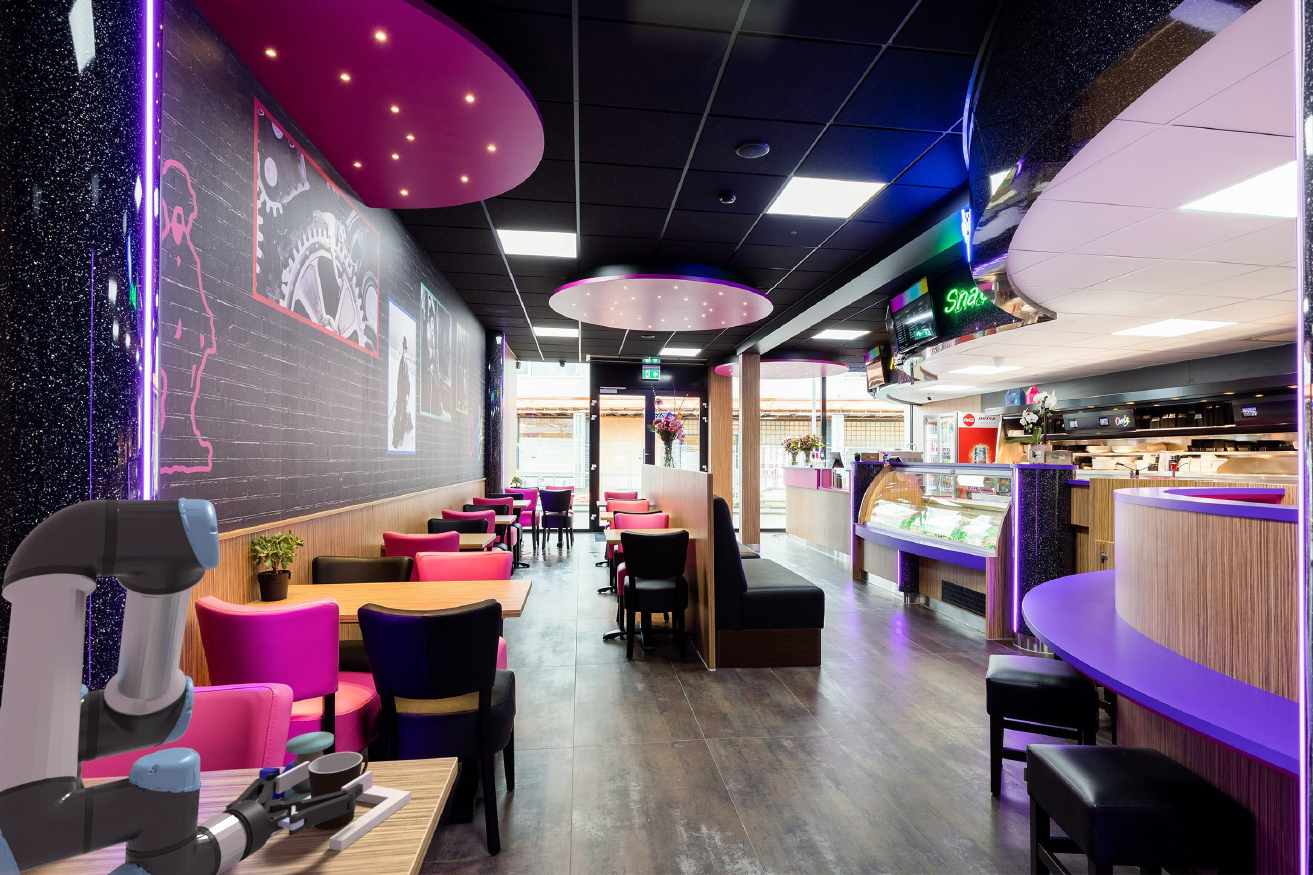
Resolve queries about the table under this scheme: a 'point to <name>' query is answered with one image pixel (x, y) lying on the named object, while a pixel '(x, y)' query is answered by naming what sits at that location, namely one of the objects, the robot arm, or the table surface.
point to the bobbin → (306, 758)
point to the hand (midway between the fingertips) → (339, 773)
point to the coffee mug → (335, 780)
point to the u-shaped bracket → (368, 814)
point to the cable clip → (276, 771)
